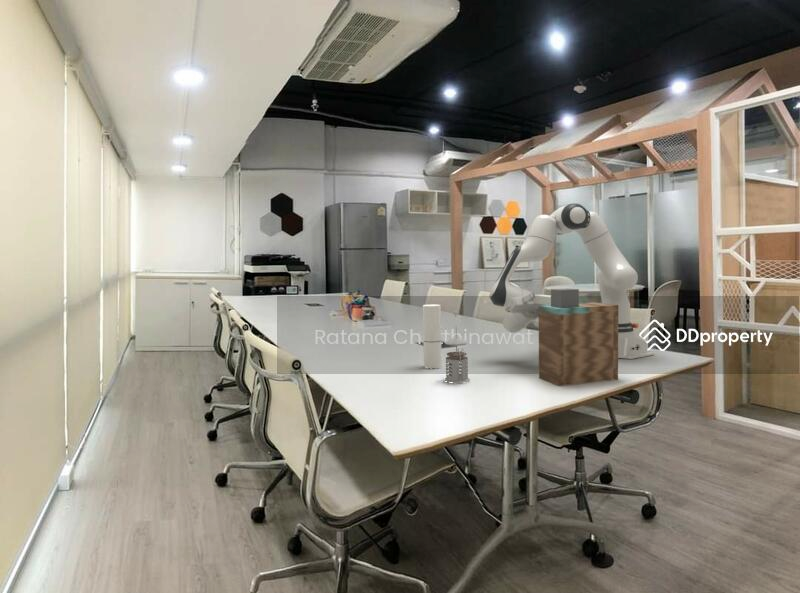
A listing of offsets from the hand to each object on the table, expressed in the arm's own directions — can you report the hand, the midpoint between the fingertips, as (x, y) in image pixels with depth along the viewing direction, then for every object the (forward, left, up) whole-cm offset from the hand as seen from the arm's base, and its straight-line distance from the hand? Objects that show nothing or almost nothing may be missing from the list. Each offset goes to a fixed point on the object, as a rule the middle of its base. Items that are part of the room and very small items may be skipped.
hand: (544, 294), depth 193 cm
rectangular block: (0, +6, -3) cm, 7 cm away
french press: (+34, -2, -30) cm, 45 cm away
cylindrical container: (+34, -27, -30) cm, 53 cm away
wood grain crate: (-6, +12, -29) cm, 32 cm away
